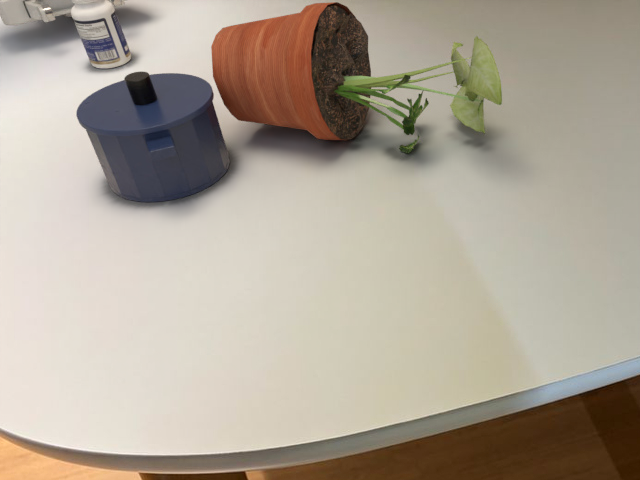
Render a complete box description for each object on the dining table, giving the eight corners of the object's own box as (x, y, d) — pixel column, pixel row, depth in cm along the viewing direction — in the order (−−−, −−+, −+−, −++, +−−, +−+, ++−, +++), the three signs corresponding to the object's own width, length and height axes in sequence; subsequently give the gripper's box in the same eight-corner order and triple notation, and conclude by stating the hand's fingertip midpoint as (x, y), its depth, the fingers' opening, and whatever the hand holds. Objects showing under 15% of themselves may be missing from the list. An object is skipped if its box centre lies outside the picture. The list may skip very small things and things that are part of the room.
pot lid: (86, 154, 76) (70, 118, 74) (76, 100, 85) (61, 66, 83) (226, 122, 80) (216, 86, 77) (203, 74, 89) (193, 40, 86)
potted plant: (227, 172, 90) (530, 177, 81) (179, 31, 80) (516, 19, 71) (289, 117, 102) (560, 116, 92) (253, -12, 92) (552, -28, 83)
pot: (119, 227, 80) (89, 158, 74) (103, 150, 92) (76, 86, 86) (245, 194, 83) (225, 127, 78) (213, 125, 95) (194, 62, 90)
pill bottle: (112, 51, 113) (84, -22, 107) (140, 56, 111) (114, -18, 105) (82, 66, 110) (52, -9, 103) (111, 72, 108) (82, -4, 101)
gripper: (-25, -25, 113) (-8, 0, 105) (121, -54, 121) (148, -33, 113) (-4, 20, 118) (14, 49, 109) (136, -11, 126) (162, 14, 117)
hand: (83, 7), depth 111 cm, fingers open, 8 cm apart
